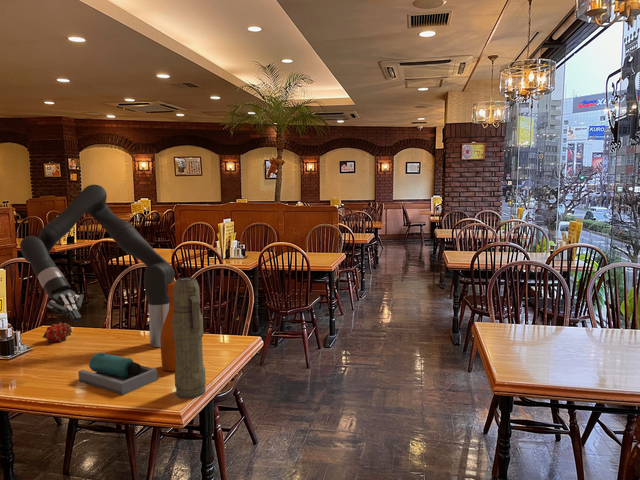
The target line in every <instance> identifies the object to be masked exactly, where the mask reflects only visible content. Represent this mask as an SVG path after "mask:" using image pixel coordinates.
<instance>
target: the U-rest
mask: <svg viewBox="0 0 640 480" xmlns="http://www.w3.org/2000/svg"><path fill="white" fill-rule="evenodd" d="M140 366H141V371H140V373H139V374H138V375H136V376H131V375H130V376H128V377H126V378H123V377H119V376H115V375H109V374H104V373H103V374H102V373H99V372H93V371H92V372H91V371H88V370H85V369H82V370H78V374H77V375H78V382H79V383H81V384H85V385H89V386H92V387H95V388H98V389H102V390H105V391H108V392H111V393H114V394H118V395H120V396H124V395H126V393H127V394H128V393H131V392H134V391H135V390H138V389H140V388H142V387H145V386H147V385H149V384H151V383H154V382H156V381H158V380H159V379H158V369H156V368H153V367H148V366H144V365H141V364H140Z"/></svg>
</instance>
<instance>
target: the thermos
mask: <svg viewBox="0 0 640 480" xmlns="http://www.w3.org/2000/svg"><path fill="white" fill-rule="evenodd" d="M174 283H175V284H174V288H173V302H174V308H175V310H174V316H173V320H172V326H173V338H174V340H175V354H176V371H174V387H175V396H176V397H177V398H179V399H186V400H187V399H188V400H189V399H195V398H199V397H200V396H201V397H202V396H203V395H204V394H205V393H206V384H207V383H206V382H207V381H206V380H207V379H206V369H205V366H204V358H203V357H204V355H203V354H204V353H203V337H204V318H203V314H202V313H201V307H200V305H201V298H200V297H201V296H200V295H201V294H200V293H201V292H200V285H199V283H198V280H197V279H196V278H194V277H191V276H190V277H180V278H177V279H175V280H174Z"/></svg>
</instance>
